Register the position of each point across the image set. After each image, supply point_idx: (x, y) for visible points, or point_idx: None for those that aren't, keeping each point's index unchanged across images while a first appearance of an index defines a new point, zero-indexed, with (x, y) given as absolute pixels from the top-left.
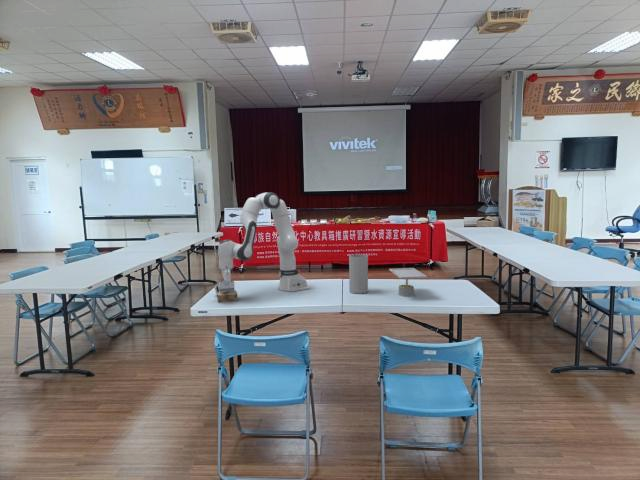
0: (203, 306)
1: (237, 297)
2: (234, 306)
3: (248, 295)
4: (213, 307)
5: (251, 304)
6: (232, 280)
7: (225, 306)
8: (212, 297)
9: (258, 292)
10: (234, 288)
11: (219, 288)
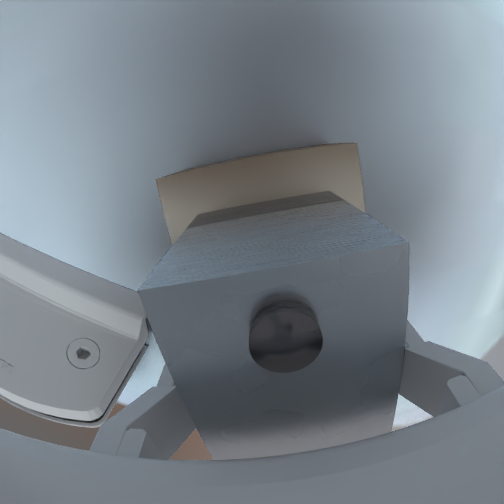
0: (408, 400)
1: (338, 143)
2: (495, 181)
3: (108, 53)
4: (461, 337)
5: (463, 35)
6: (312, 322)
7: (475, 255)
8: (155, 386)
9: (36, 4)
10: (338, 197)
11: (109, 392)
